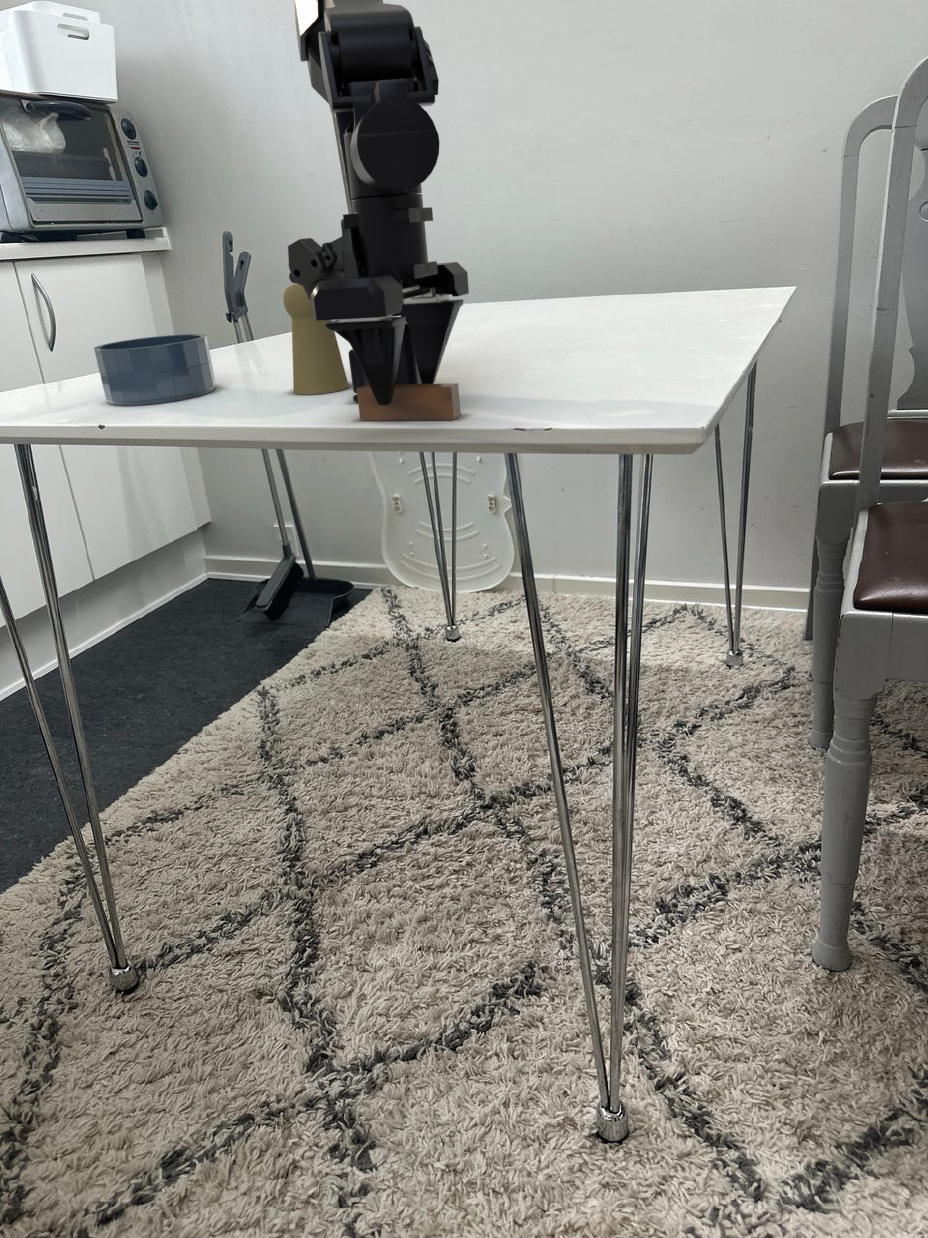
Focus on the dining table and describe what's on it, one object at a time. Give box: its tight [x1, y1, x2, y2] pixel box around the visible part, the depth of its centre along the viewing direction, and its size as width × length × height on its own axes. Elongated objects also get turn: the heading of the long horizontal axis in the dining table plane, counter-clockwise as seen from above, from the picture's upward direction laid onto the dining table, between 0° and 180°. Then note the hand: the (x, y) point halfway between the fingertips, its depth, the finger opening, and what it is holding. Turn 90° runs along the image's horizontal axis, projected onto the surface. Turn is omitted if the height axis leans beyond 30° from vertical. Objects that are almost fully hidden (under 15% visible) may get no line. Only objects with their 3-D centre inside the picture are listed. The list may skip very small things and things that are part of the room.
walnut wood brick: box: [356, 382, 462, 421], centre depth 78 cm, size 9×2×3 cm, turn 70°
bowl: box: [93, 333, 217, 407], centre depth 102 cm, size 12×12×6 cm
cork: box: [282, 283, 350, 396], centre depth 95 cm, size 6×6×11 cm
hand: (407, 394), depth 78 cm, fingers open, 9 cm apart
